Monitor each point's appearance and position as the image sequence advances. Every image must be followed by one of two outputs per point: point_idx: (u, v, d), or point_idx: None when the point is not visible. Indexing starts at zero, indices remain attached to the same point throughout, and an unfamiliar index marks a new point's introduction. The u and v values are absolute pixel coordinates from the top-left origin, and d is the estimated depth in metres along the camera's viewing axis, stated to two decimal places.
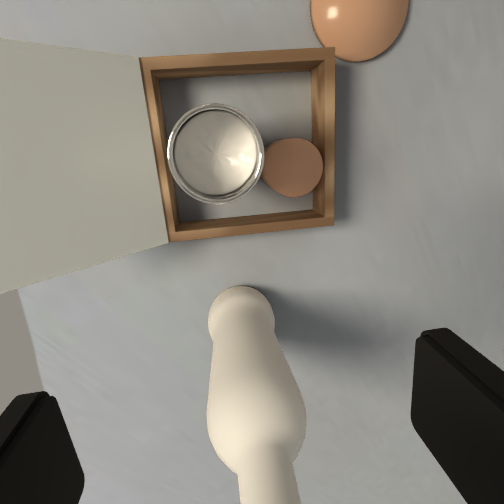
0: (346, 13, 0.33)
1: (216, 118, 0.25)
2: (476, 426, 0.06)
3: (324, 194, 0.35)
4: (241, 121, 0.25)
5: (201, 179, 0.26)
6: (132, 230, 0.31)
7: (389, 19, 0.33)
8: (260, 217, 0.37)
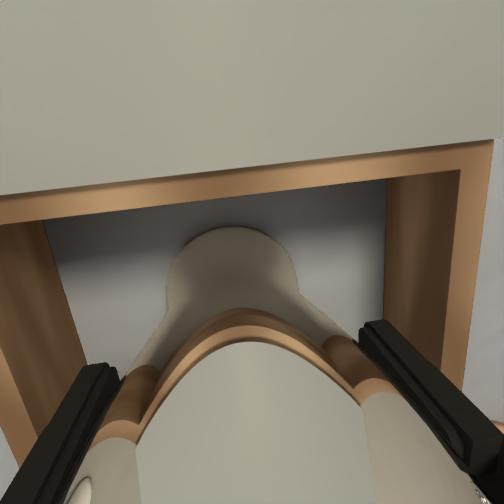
0: None
1: None
2: None
3: None
4: None
5: None
6: None
7: None
8: None
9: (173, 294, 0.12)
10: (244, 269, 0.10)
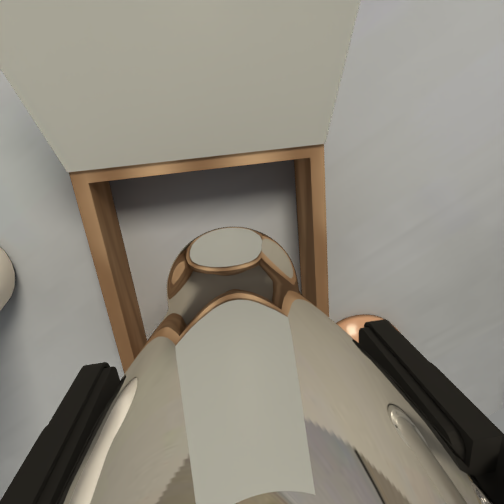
0: None
1: None
2: None
3: None
4: None
5: None
6: (78, 120, 0.18)
7: None
8: (129, 292, 0.27)
9: (173, 294, 0.12)
10: (244, 269, 0.10)
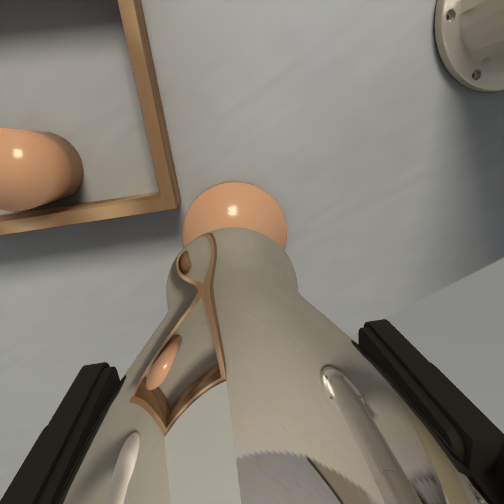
0: (225, 221, 0.30)
1: None
2: None
3: None
4: None
5: None
6: None
7: None
8: None
9: (173, 295, 0.12)
10: (244, 270, 0.10)
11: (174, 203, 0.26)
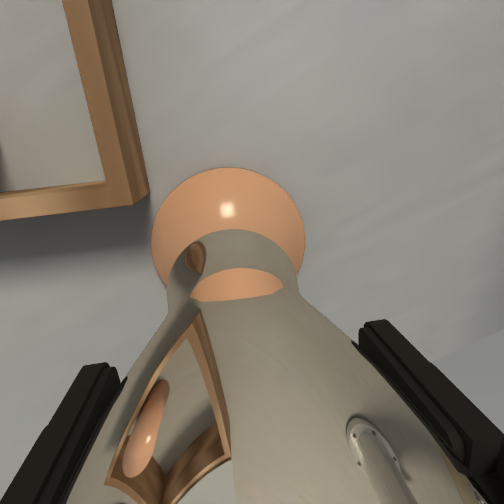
0: (215, 226, 0.21)
1: None
2: None
3: None
4: None
5: None
6: None
7: None
8: None
9: (173, 296, 0.12)
10: (244, 271, 0.10)
11: (130, 196, 0.16)
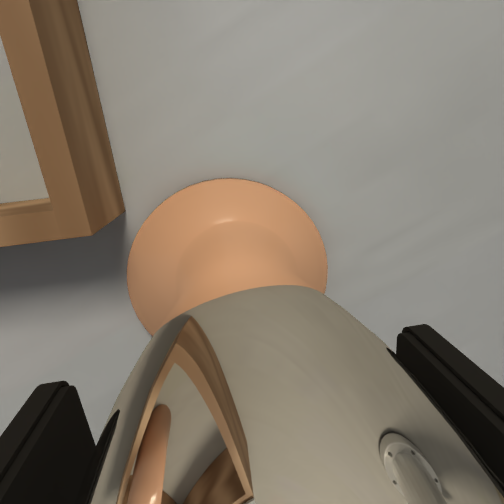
0: None
1: None
2: None
3: None
4: None
5: None
6: None
7: None
8: None
9: (183, 281, 0.13)
10: (250, 257, 0.11)
11: (87, 223, 0.11)
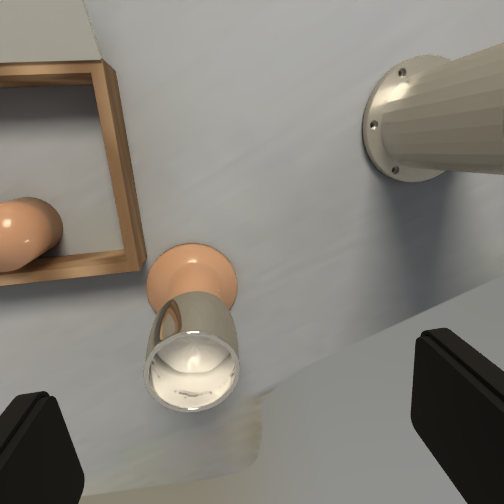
0: None
1: None
2: (476, 426, 0.06)
3: None
4: (224, 359, 0.27)
5: None
6: None
7: None
8: None
9: (171, 288, 0.33)
10: (196, 280, 0.31)
11: (138, 266, 0.31)
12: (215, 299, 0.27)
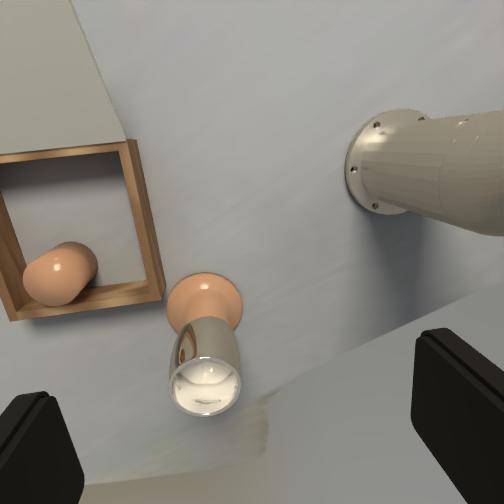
0: None
1: None
2: (476, 426, 0.06)
3: (39, 307, 0.37)
4: (230, 373, 0.34)
5: None
6: None
7: None
8: (11, 249, 0.37)
9: (187, 312, 0.40)
10: (207, 306, 0.38)
11: (159, 296, 0.38)
12: (222, 326, 0.34)
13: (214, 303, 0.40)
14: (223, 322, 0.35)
